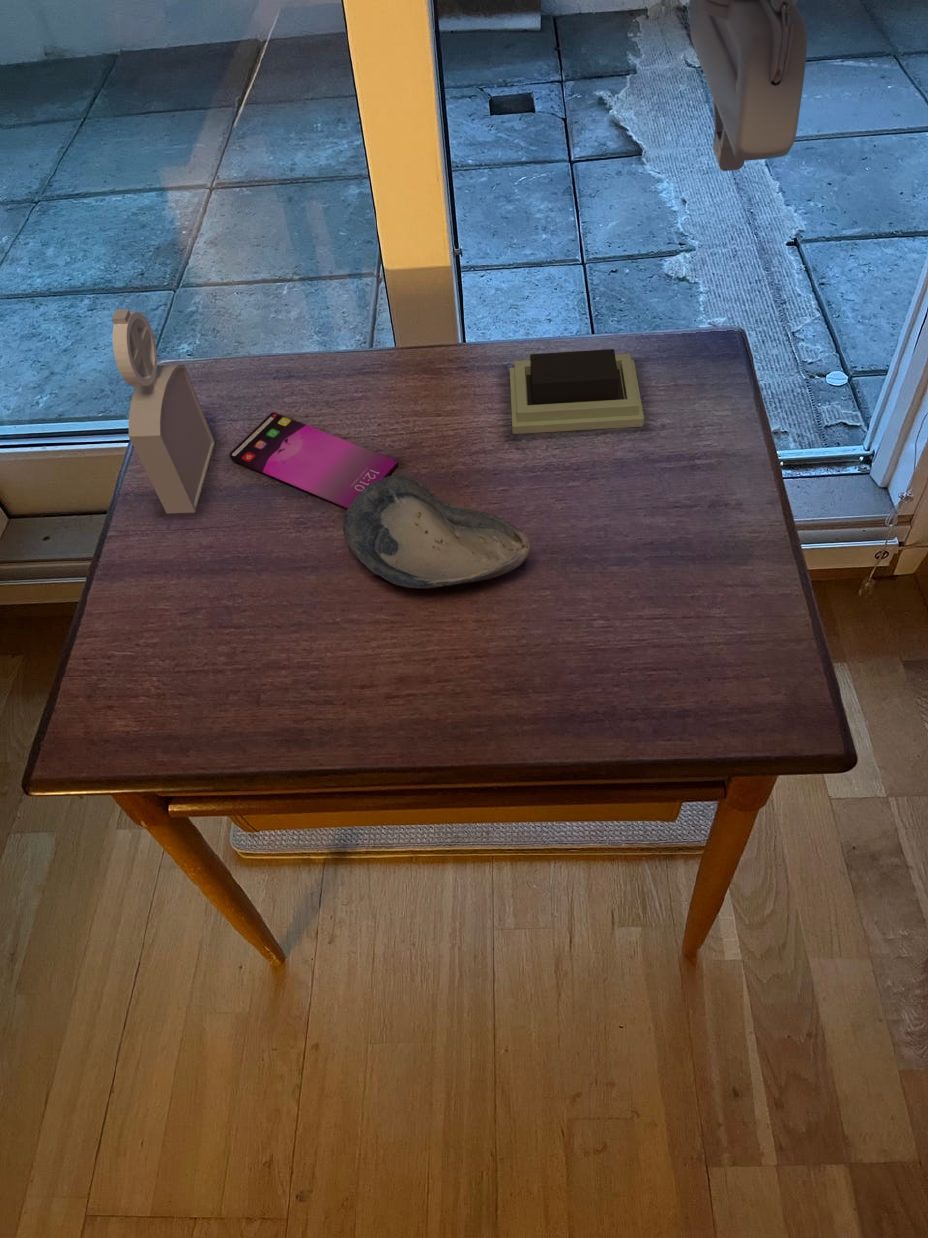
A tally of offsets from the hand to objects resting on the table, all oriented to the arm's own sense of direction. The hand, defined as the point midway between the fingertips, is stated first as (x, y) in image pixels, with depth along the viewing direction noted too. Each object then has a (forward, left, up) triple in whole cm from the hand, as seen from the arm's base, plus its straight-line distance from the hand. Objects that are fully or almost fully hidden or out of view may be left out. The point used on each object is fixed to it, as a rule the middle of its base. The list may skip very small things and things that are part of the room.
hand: (727, 160), depth 69 cm
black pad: (+10, +6, -23) cm, 25 cm away
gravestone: (+32, +36, -24) cm, 54 cm away
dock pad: (+10, +5, -24) cm, 26 cm away
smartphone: (+24, +27, -24) cm, 43 cm away
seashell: (+7, +28, -24) cm, 38 cm away
